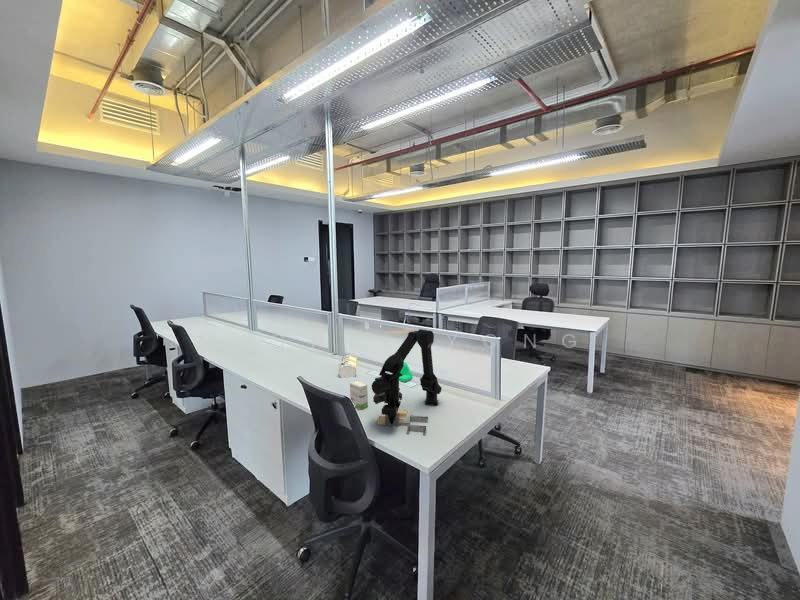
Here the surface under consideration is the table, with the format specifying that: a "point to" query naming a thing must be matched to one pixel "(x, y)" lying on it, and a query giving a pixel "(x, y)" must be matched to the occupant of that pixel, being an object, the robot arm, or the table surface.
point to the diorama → (348, 366)
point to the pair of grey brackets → (417, 427)
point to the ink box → (359, 394)
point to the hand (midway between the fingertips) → (392, 421)
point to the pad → (402, 413)
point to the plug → (396, 422)
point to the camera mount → (405, 373)
